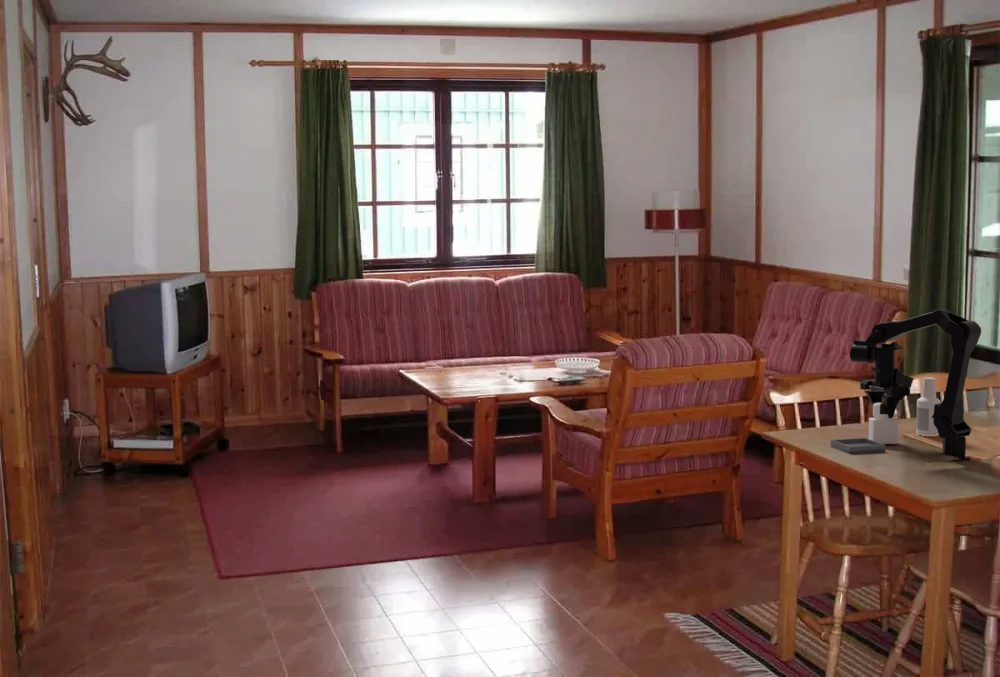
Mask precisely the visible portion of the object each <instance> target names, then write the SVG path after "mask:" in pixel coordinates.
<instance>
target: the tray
mask: <svg viewBox="0 0 1000 677" xmlns="http://www.w3.org/2000/svg"><path fill="white" fill-rule="evenodd" d="M830 448H834V449H836V450H838V451H842V452H844V453H847V454H869V453H872V454H873V453H885V452H886V444H881V443H878V442H876V441H873V440H870V439H869V438H867V437H860V438H859V437H857V438H856V437H855V438H842V439H841V438H837V439H830Z"/></svg>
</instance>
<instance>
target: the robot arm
mask: <svg viewBox="0 0 1000 677" xmlns="http://www.w3.org/2000/svg"><path fill="white" fill-rule="evenodd" d="M936 325H938V326H939V327H940V328H941V329H942V330H943V331H944V332H945V333H947V334H949V336H950V345H951V349H952V355H951V359H950V366H949V371H948V376H947V380H946V386H945V390H944V395H943V396H944V397H943V399H942V401H941V403H939V404H935V406H934V414H933V416H932V418H934V419H933V423H934V425H935V427H936V428H937V430H938V434H939V436H938V437H939V438H941V439H942V452H941V453H943V454H944V455H946V456H947V455H948V456H951V457H954V458H957V459H958V460H970V459H971V457H969V456H967V455H966V450H967V449H966V446H967V443H966V442H967V438H966V437H969V436H970V435H971V433H972V427H970V425H969V424H967V422H966V421H965V420H964V413H965V412H964V408H963V404H962V403H963V402H962V399H963V393H964V389H965V388H964V387H965V385H966V384H965V383H966V380H967V379H966V378H967V373H968V370H969V363H970V358H971V355H972V352H973V350H974V349H975V348H976V346H977V344H978V342H979V340H980V337H981V334H982V328H981V327H980V325H979V323H977V322H976V321H974V320H969V319H966V318H965V317H962V316H960V315H957V314H955V313H954V312H951V310H948V309H946V308H943V309H935V310H934V311H931V312H928V313H924V314H921V315H917V316H913V317H910V318H906V319H903V320H898V321H897V320H896V321H895V320H894V321H886V322H878V323H875V324H874V325H873V326H872V330H871V332H870V334H869V336H868V337H867V339H866V340H862V339H855V340H853V344H852V346H851V348H850V351H849V358H850V361H851V362H853V363H862V364H872V363H874V367H871V371H873V372H874V378H873V379H862V380H861V381H860V384H859V386H860V387H859V389H860V390H864V393H865V395H866V396H867V398H868V400H869V401H870V402H869V403H870V404H871V406H872V407H873V404H875V403H879V402H885V406H886V410H887V414H888V417H889V418H893V419H894V416H895V412H896V411H897V410H896V409H897V406H898V404H899V403H900V401H901V400H902V399H903V398H906V397H907V396H911V387H912V384H913V381H914V377H911V376H908V375H905V374H903V372H902V371H899V368H898V367H896V351H899V350H903V347H902V345H900V344H899V343H898V342H897V341H895V340H897V339H899V338H902V337H903V336H905V335H906V334H908V333H911V332H914V331H917V330H918V331H919V330H921V329H925V328H929V327H932V326H936ZM892 341H893V342H892ZM887 342H891V343H887ZM878 345H879V346H878ZM893 415H894V416H893Z"/></svg>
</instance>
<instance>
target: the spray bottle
mask: <svg viewBox="0 0 1000 677" xmlns="http://www.w3.org/2000/svg"><path fill="white" fill-rule="evenodd" d="M921 386H922V389H921V390H922V391H921V397H919V398H918V399H917V400H916V423H915V424H916V426H915V428H916V430H915V431H916V432H915V433H917V434H921V435H923V434H924V435H936V434H938V430H937V428H936V427H935V425H934V423H933V419H934V418H932V416H933V414H934V406H935V404H939V403H942V401H941V400H940V399H939V398H938V397H937V391H936V390H937V384H936V378H935V377H929V376H928V377H927V376H926V377H923V382H922V385H921ZM917 434H916V435H917Z"/></svg>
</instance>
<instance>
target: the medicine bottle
mask: <svg viewBox="0 0 1000 677" xmlns="http://www.w3.org/2000/svg"><path fill="white" fill-rule="evenodd" d="M872 416H873V417H869V418H868V439H870V440H873V441H876V442H878V443H881V444H884V445H897V444H899V420H898V419H897V418H894V417H895V414H894V415H893V418H889V417H888V414H887V410H886V406H885V402H884V401H882V402H879V403H875V404H873V406H872Z"/></svg>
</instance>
